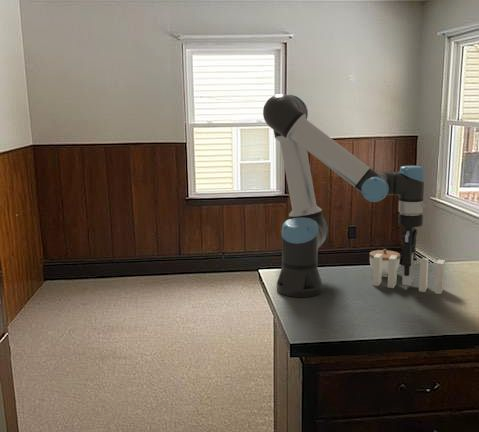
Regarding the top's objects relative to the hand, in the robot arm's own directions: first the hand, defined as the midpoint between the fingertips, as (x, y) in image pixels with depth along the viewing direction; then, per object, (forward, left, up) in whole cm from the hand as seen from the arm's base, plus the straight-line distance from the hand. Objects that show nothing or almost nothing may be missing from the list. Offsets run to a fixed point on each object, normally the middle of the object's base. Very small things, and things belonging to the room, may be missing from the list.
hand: (408, 281), depth 175 cm
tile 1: (-10, 0, -2) cm, 10 cm away
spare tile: (0, 0, 0) cm, 0 cm away
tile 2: (-5, 0, -2) cm, 6 cm away
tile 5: (+10, 0, -2) cm, 10 cm away
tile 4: (+5, 0, -2) cm, 5 cm away
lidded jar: (-10, +12, -2) cm, 16 cm away
